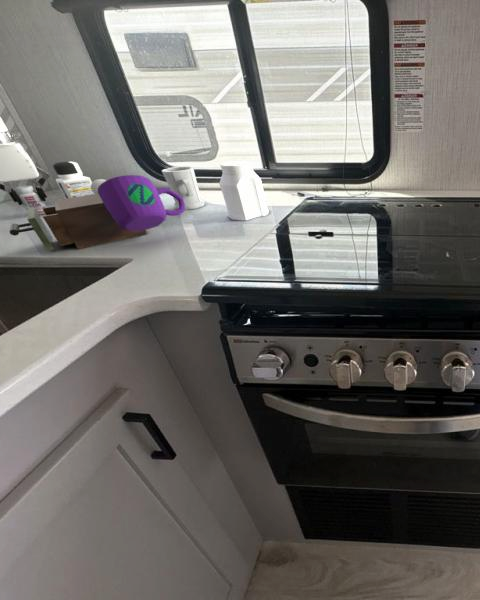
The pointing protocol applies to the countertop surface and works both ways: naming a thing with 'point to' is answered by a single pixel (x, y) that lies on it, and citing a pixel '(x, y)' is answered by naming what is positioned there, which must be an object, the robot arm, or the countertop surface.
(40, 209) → the pill bottle
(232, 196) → the jar
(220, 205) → the countertop surface
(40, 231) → the drawer
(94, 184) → the light bulb
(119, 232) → the cabinet
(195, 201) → the cup
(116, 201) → the mug
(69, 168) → the container
